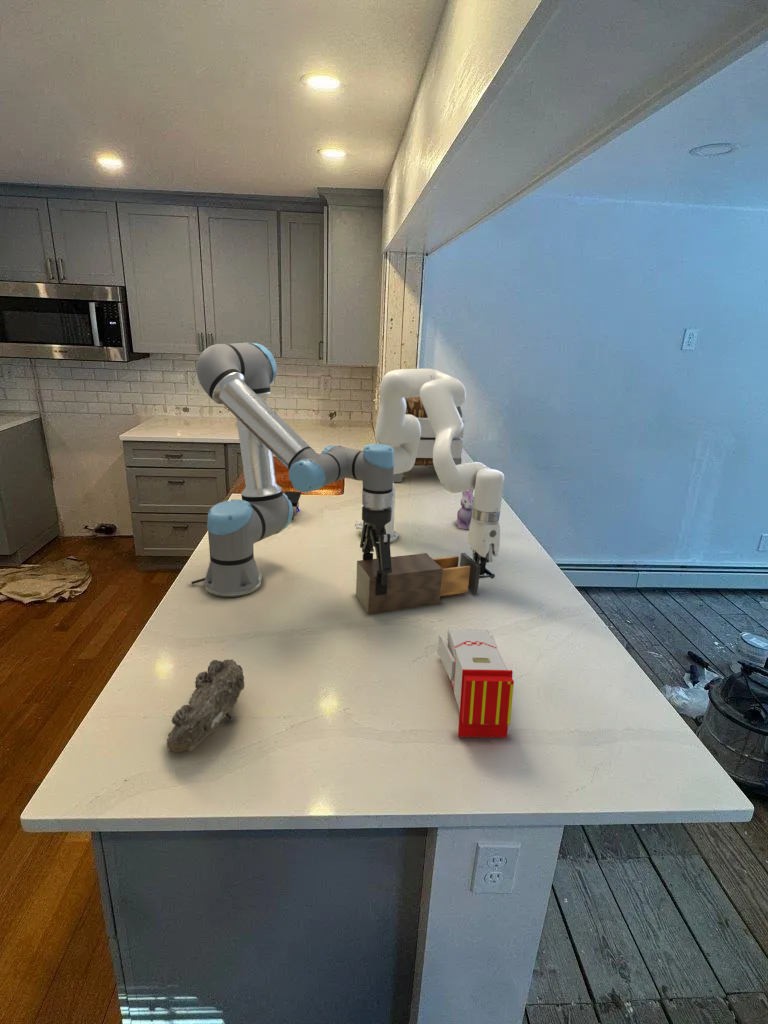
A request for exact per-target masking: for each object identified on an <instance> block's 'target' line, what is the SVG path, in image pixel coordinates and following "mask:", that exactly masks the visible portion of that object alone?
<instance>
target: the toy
mask: <svg viewBox="0 0 768 1024" xmlns="http://www.w3.org/2000/svg"><path fill="white" fill-rule="evenodd" d="M446 640H447V643H446V641H445V639H444V636H443V635H442V634H439V637H438V646H437V656H438V657H439V659H440V661H441V663H442V666H443V668H444V670H445V672H446V674H447V677H448V679H449V681H450V684H451V687H452V690H453V693H454V697H455V701H456V705H457V708H458V711H459V714H458V715H459V716H458V730H457V731H458V732H457V737H458V738H508V731H509V726H510V725H511V717H512V707H513V697H514V696H513V695H514V684H515V680H514V679H513V673H514V671H513V670H512V669H508V667H507V665H506V662H505V661H504V659H503V658H502V655H501V653H500V651H499V649H498V647H497V643H496V639H495V637H494V635H493V634H491V632H490V631H489V629H467V628H466V629H465V628H463V629H461V628H460V629H459V628H448V630H447V639H446Z"/></svg>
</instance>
